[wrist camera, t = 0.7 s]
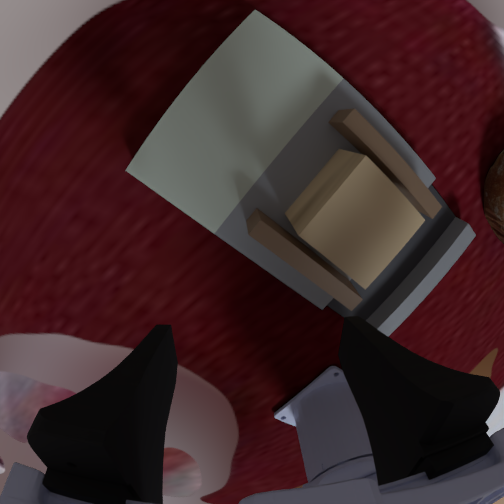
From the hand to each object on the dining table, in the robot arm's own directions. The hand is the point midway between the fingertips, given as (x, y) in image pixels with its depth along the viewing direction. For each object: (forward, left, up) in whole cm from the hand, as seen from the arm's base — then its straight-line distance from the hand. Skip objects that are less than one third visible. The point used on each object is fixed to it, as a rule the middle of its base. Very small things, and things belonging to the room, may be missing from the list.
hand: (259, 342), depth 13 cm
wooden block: (-2, -6, -8) cm, 10 cm away
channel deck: (-2, -6, -10) cm, 12 cm away
